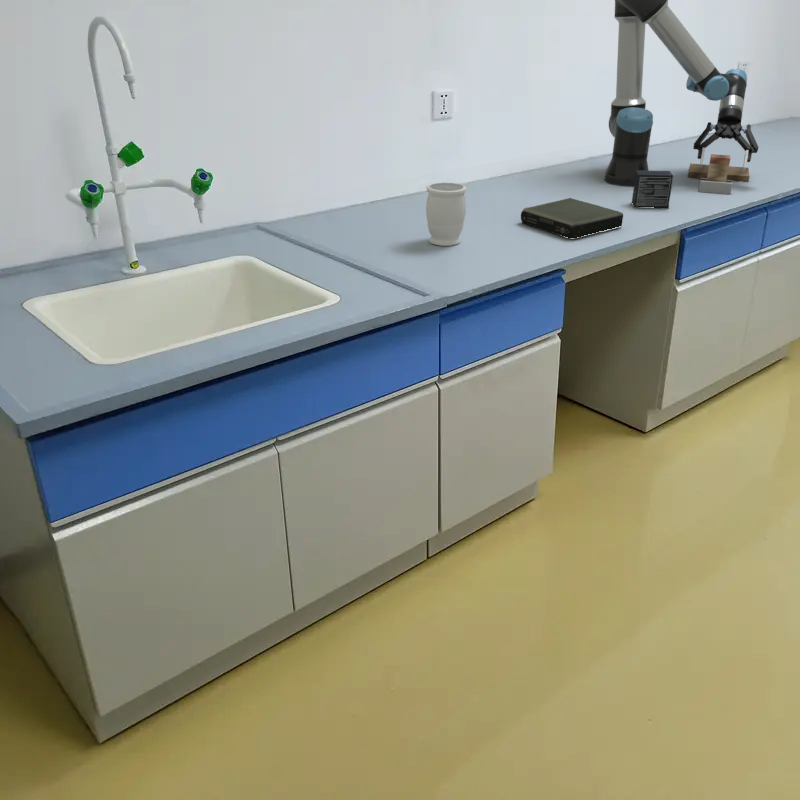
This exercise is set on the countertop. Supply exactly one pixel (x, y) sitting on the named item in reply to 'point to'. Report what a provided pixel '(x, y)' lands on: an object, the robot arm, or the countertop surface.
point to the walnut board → (733, 174)
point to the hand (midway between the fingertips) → (722, 168)
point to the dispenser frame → (715, 186)
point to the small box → (652, 189)
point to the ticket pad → (718, 168)
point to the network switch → (571, 218)
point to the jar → (445, 212)
